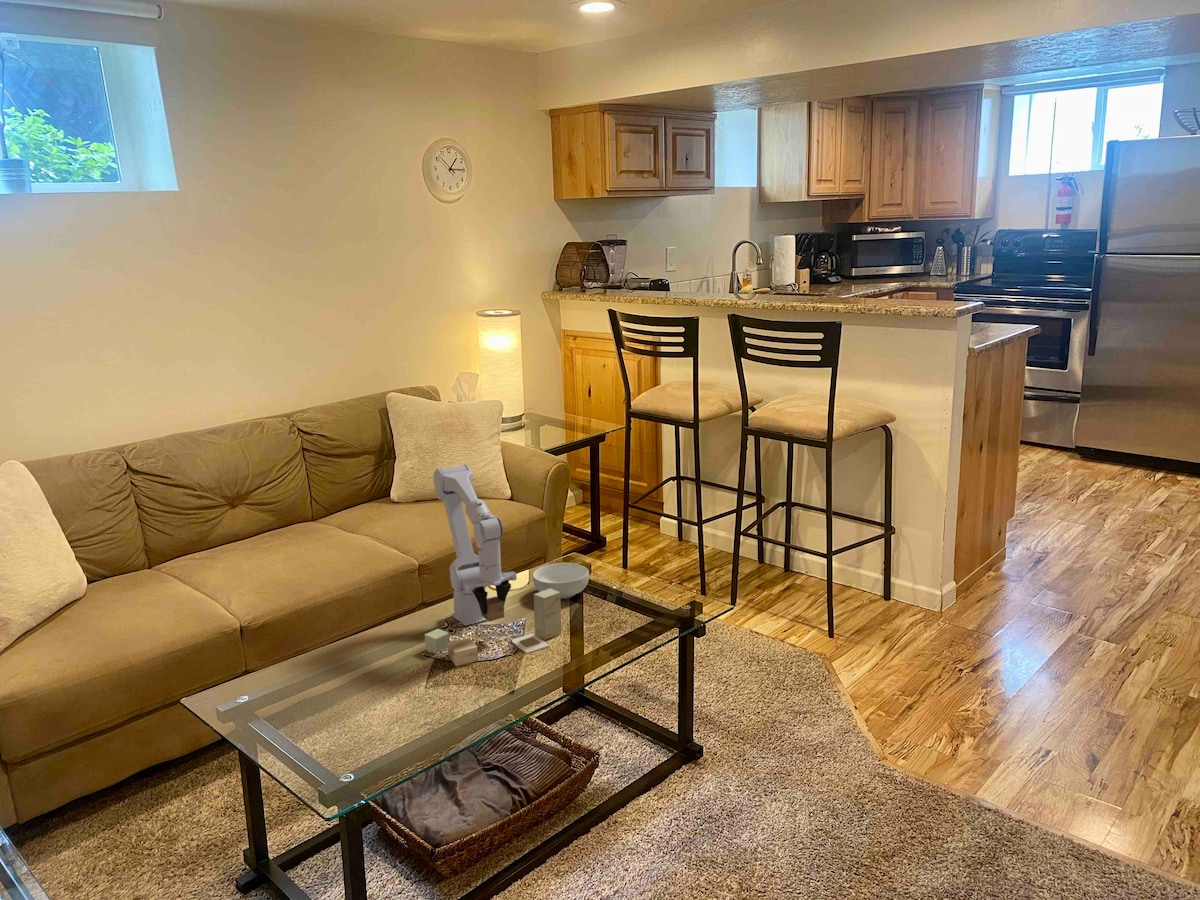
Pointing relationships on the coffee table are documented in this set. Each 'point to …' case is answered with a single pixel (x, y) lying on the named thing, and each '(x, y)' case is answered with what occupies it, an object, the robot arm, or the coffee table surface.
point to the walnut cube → (494, 609)
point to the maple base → (463, 652)
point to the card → (530, 643)
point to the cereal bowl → (561, 578)
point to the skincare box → (547, 613)
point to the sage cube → (436, 640)
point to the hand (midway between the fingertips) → (492, 610)
